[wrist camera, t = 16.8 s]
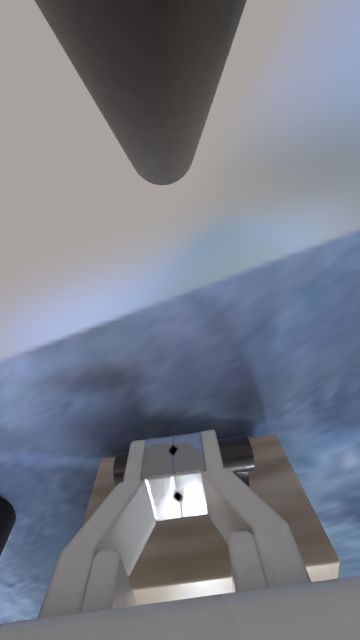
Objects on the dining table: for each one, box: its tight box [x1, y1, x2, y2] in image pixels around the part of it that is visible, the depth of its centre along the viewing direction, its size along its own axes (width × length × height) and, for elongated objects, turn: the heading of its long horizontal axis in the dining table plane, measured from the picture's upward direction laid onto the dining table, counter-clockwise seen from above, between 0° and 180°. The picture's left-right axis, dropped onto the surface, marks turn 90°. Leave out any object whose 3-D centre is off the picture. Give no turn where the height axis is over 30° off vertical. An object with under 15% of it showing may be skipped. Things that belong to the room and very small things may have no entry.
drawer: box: [81, 435, 340, 605], centre depth 15 cm, size 17×11×7 cm
